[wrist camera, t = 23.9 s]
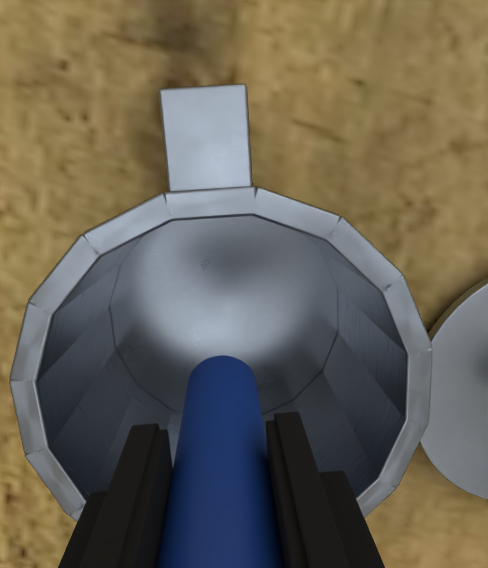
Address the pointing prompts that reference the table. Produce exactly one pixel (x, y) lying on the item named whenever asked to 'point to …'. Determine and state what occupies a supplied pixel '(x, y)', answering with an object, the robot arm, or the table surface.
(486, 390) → the pot lid
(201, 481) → the pen
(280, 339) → the pot
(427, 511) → the table surface
